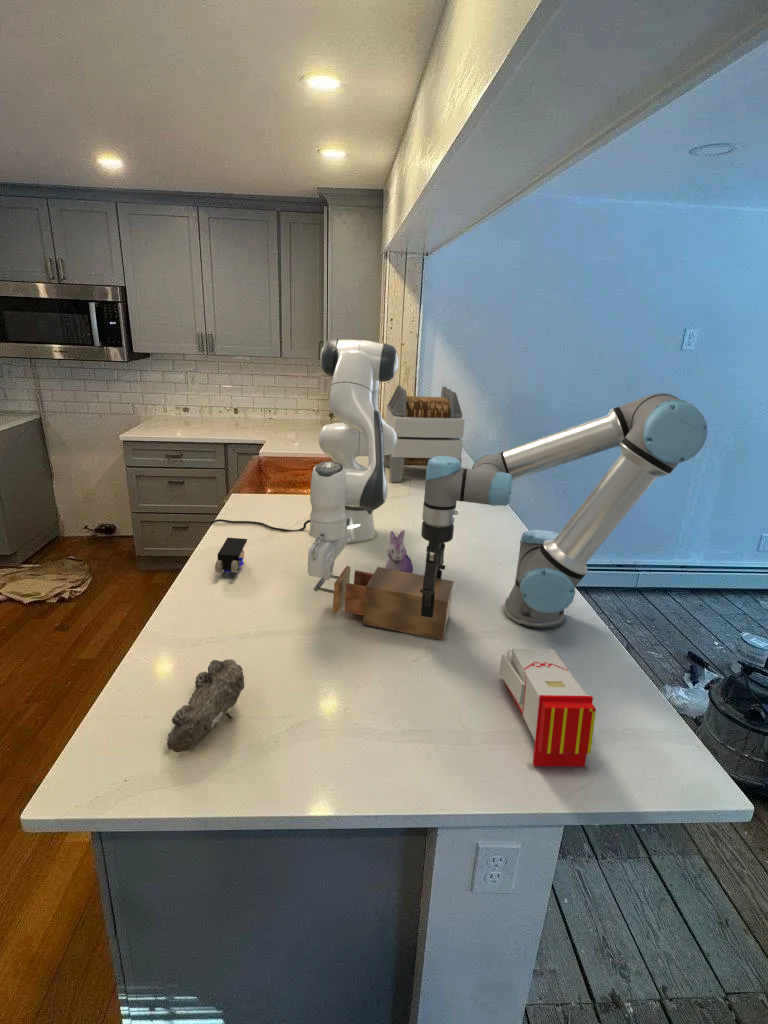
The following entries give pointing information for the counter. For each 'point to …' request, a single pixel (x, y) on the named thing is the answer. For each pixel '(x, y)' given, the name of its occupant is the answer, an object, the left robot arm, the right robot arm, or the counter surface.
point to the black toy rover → (230, 556)
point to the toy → (550, 706)
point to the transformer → (423, 429)
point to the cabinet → (406, 603)
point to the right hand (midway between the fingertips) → (430, 604)
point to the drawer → (348, 591)
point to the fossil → (206, 705)
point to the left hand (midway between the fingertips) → (327, 577)
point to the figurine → (398, 554)
